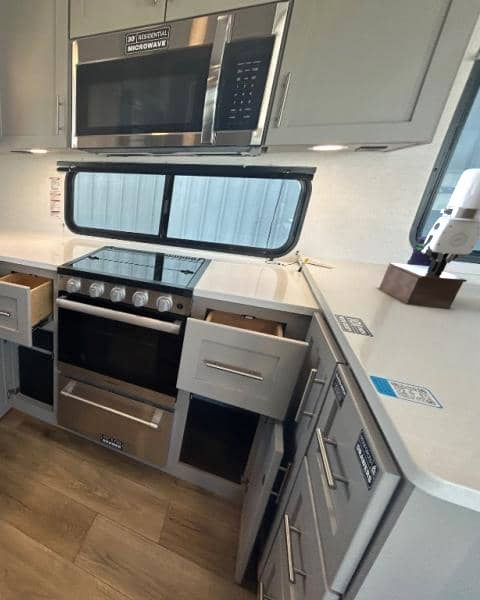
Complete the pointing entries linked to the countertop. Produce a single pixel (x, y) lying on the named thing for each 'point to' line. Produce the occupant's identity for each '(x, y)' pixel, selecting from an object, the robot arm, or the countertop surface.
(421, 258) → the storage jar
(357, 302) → the countertop surface
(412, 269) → the lid
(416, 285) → the chest
